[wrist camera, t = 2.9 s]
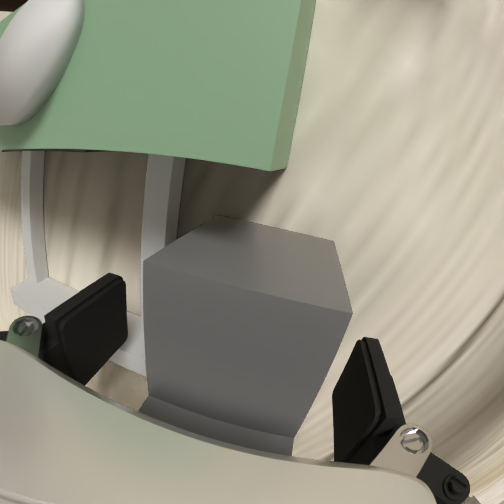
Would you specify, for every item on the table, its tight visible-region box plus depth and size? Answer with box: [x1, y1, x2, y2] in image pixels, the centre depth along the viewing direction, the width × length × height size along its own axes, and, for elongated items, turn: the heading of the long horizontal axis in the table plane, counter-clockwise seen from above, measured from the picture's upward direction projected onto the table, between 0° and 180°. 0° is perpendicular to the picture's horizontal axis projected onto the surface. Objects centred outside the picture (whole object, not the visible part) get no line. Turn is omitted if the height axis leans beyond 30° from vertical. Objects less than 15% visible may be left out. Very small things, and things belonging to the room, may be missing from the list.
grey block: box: [139, 215, 353, 456], centre depth 10 cm, size 5×7×7 cm
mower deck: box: [0, 0, 316, 377], centre depth 10 cm, size 20×18×6 cm
